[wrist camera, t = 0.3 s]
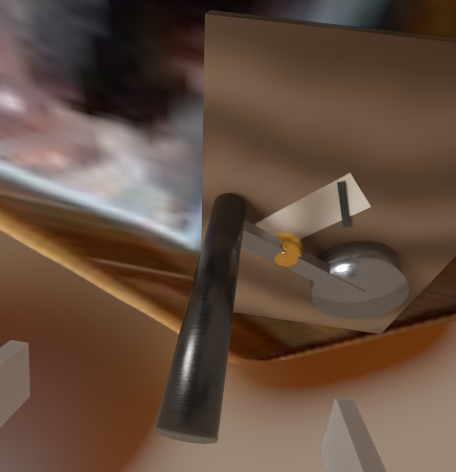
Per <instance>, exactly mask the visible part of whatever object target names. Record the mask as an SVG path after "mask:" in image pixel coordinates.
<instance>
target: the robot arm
mask: <svg viewBox="0 0 456 472" xmlns="http://www.w3.org/2000/svg"><path fill="white" fill-rule="evenodd" d="M29 397H30V379H29V350H28V343H24V342H19V341H14V340H11V341H9V342H8V343H6V344H5V345H4V346H3V347H1V348H0V427H1V426H2V425H3V424H4V423H5V422H6V421H7V419H9V417H10V416H11V415H12V414H13V413H14V412H15V411H16V410H17V409H18V408H19V407H20V406H21V405H22V404H23V403H24V402H25V401H26V400H27V399H28V398H29ZM321 453H322V456H323V460H324V464H325V468H326V472H386V470H385V467H384V465H383V463H382V461H381V459H380V456H379V454H378V452H377V450H376V448H375V446H374V443H373V441H372V439H371V436H370V434H369V432H368V430H367V428H366V425H365V423H364V421H363V419H362V417H361V414H360V412H359V410H358V408H357V405H356V403H355V401H352V400H347V399H341V398H335V402H334V405H333V409H332V412H331V416H330V419H329V423H328V427H327V430H326V433H325V437H324V440H323V444H322V447H321Z"/></svg>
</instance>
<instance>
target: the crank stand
mask: <svg viewBox="0 0 456 472" xmlns="http://www.w3.org/2000/svg"><path fill="white" fill-rule="evenodd" d="M225 193H232V194H236V195H238V196H239V197H241V198H242V199H243V200H244V202H245V204H246V212H245V221H247V222H249V223H251V224H253V225H255V226H257V227H259V228H261V229H263V230H265V231H267V232H268V233H270V234H272V235H274V236H275V235H277V234H279V233H283V232H288V233H292V234H294V235H296V236H297V237H298V238H299V239H300V240H301V242H302V244H303V247H304V251H305V252H307V253H309V254H311V255H313V256H315V257H316V258H317V257H318V256H319V255H320V254H321V253H323V252H324V251H326V250H328V249H330V248H332V247H335V246H338V245H341V244H345V243H351V242H369V243H375V244H379V245H382V246H384V247H386V248H388V249H390V250H391V251H392V252H393V253H394V254H395V255H396V256H397V258H398V260H399V263H400V265H401V268H402V270H403V273H404V275H405V277H406V280H407V282H408V285H409V294H408V296H407V298H406V299H405V301H404V302H403V303H402V304H401V305H399V306H398V307H397V308H395V309H393V310H391V311H389V312H387V313H385V314H382V315H379V316H375V317H370V318H362V319H347V318H340V317H335V316H332V315H329V314H326V313H325V312H323V311H321V310H320V309H319V308H317V307H316V305H315V304H314V302H313V300H312V293H311V284H310V280H309V279H307V278H305V277H303V276H301V275H299V274H297V273H295V272H293V271H291V270H289V269H287V268H285V267H280V266H278V265H276V264H274V263H273V262H272V261H271V260H269V259H266V258H264V257H262V256H260V255H258V254H256V253H254V252H252V251H250V250H248V249H246V248H244V247H242V246H241V253H240V261H239V269H238V277H237V285H236V294H235V302H234V310H233V312H238V313H244V314H251V315H258V316H264V317H271V318H278V319H284V320H291V321H298V322H304V323H311V324H318V325H324V326H331V327H338V328H344V329H351V330H358V331H364V332H371V333H378V334H381V333H382V332H383V331H384V330H385V329H386V328H387V327H388V326H389V325H390V324H391V323H392V322H393V321H394V320H395V319H396V318H397V317H398V315H399V314H400V313H401V312H402V311H403V310H404V309H405V308H406V307H407V306H408V305H409V304H410V303H411V302H412V301H413V300H414V299H415V298H416V297H417V296H418V295H419V294H420V293H421V292H422V291H423V290H424V289H425V288H426V287H427V286H428V285H429V283H430V282H431V281H432V280H433V279H434V278H435V277H436V276H437V275H438V274H439V273H440V272H441V271H442V270H443V269H444V268H445V267H446V266H447V265H448V264H449V263H450V262H451V261H452V260H453V259H454V258H455V257H456V38H449V37H441V36H432V35H423V34H414V33H405V32H397V31H388V30H379V29H370V28H361V27H353V26H344V25H335V24H326V23H317V22H309V21H300V20H291V19H282V18H273V17H265V16H256V15H247V14H238V13H229V12H221V11H212V10H210V11H209V12H207V13H206V14H205V54H204V118H203V183H202V245H203V242H204V238H205V234H206V230H207V226H208V223H209V219H210V215H211V211H212V207H213V203H214V200H215V199H216V198H217V197H218V196H219V195H221V194H225ZM201 249H202V247H201Z"/></svg>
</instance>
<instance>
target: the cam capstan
mask: <svg viewBox="0 0 456 472" xmlns="http://www.w3.org/2000/svg"><path fill="white" fill-rule="evenodd" d="M245 212H246V204H245V202H244V200H243V199H242V198H241V197H239V196H238V195H236V194H232V193H225V194H221V195H219V196H218V197H217V198H216V199H215V200H214V203H213V207H212V211H211V215H210V219H209V223H208V226H207V230H206V234H205V238H204V242H203V245H202V249H201V253H200V257H199V261H198V265H197V268H196V272H195V276H194V280H193V284H192V288H191V291H190V295H189V299H188V303H187V307H186V311H185V314H184V318H183V322H182V326H181V330H180V333H179V337H178V341H177V345H176V349H175V353H174V356H173V360H172V364H171V368H170V372H169V376H168V380H167V383H166V387H165V391H164V395H163V399H162V403H161V406H160V410H159V414H158V418H157V422H156V425H155V431H156V432H157V433H158V434H160V435H163V436H165V437H169V438H172V439H175V440H180V441H185V442H191V443H202V444H204V443H205V444H209V443H215V442H217V440H218V432H219V423H220V416H221V407H222V399H223V391H224V383H225V375H226V367H227V359H228V350H229V342H230V334H231V326H232V318H233V310H234V302H235V294H236V285H237V277H238V269H239V261H240V253H241V246H242V247H244V248H246V249H248V250H250V251H252V252H254V253H256V254H258V255H260V256H262V257H264V258H266V259H269V260H271V261H272V262H273V263H274V264H276V265H278V266H280V267H285V268H287V269H289V270H291V271H293V272H295V273H297V274H299V275H301V276H303V277H305V278H307V279H309V280H310V284H311V293H312V300H313V302H314V304H315V305H316V307H317V308H319V309H320V310H321V311H323V312H325V313H326V314H329V315H332V316H335V317H340V318H347V319H362V318H370V317H375V316H379V315H382V314H385V313H387V312H389V311H391V310H393V309H395V308H397V307H398V306H399V305H401V304H402V303H403V302H404V301H405V299H406V298H407V296H408V294H409V285H408V282H407V280H406V277H405V275H404V273H403V270H402V268H401V265H400V263H399V260H398V258H397V256H396V255H395V254H394V253H393V252H392V251H391V250H390V249H388V248H386V247H384V246H382V245H379V244H375V243H369V242H351V243H345V244H341V245H338V246H335V247H332V248H330V249H328V250H326V251H324V252H323V253H321V254H320V255H319V256H318V257H317V258H316V257H315V256H313V255H311V254H309V253H307V252H305V251H304V247H303V244H302V242H301V240H300V239H299V238H298V237H297V236H296V235H294V234H292V233H288V232H283V233H279V234H277V235H275V236H274V235H272V234H270V233H268V232H267V231H265V230H263V229H261V228H259V227H257V226H255V225H253V224H251V223H249V222H247V221H245Z"/></svg>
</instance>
